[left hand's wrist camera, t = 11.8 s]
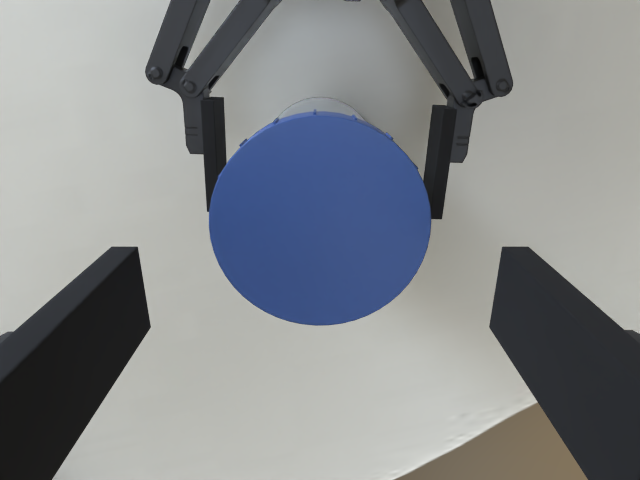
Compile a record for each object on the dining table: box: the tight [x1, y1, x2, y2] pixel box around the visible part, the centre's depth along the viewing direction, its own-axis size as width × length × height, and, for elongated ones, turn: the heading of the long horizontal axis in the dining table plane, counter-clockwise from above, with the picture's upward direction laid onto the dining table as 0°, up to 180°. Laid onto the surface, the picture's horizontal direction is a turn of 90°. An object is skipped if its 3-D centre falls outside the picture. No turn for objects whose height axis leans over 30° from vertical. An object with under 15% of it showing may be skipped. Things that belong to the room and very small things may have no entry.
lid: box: [209, 109, 431, 325], centre depth 19 cm, size 9×9×2 cm
